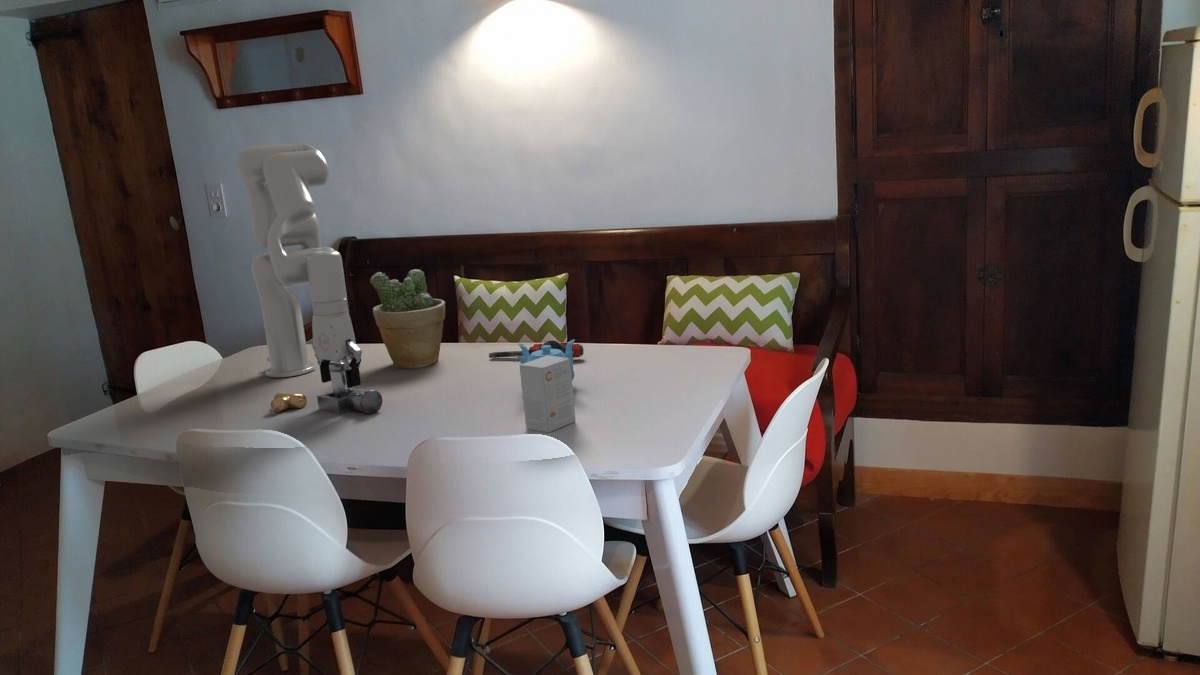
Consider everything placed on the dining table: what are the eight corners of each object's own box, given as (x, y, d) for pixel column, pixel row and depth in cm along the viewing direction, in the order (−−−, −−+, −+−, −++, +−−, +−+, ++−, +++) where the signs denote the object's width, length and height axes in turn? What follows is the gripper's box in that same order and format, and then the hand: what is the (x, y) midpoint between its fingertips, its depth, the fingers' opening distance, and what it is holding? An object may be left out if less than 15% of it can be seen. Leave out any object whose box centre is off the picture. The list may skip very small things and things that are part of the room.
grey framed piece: (318, 409, 208) (315, 387, 207) (349, 399, 214) (346, 378, 212) (358, 418, 198) (355, 395, 197) (389, 408, 204) (386, 386, 203)
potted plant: (418, 352, 257) (406, 262, 251) (467, 357, 246) (456, 263, 240) (365, 368, 242) (353, 273, 237) (415, 375, 231) (403, 275, 226)
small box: (553, 417, 188) (547, 354, 185) (576, 421, 184) (571, 357, 181) (524, 428, 182) (518, 364, 180) (548, 433, 178) (542, 367, 175)
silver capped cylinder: (331, 407, 208) (324, 364, 206) (346, 402, 211) (340, 360, 209) (341, 410, 205) (335, 366, 203) (357, 405, 208) (351, 361, 206)
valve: (598, 359, 242) (576, 365, 228) (508, 362, 252) (482, 368, 238) (596, 334, 242) (574, 339, 228) (507, 338, 251) (480, 343, 237)
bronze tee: (307, 405, 211) (305, 393, 211) (288, 413, 206) (286, 400, 205) (284, 404, 214) (282, 391, 214) (265, 411, 209) (262, 399, 208)
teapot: (519, 400, 203) (514, 355, 200) (522, 384, 215) (518, 341, 213) (578, 395, 203) (574, 350, 200) (578, 379, 215) (574, 336, 213)
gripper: (293, 308, 206) (304, 383, 210) (338, 314, 195) (349, 392, 199) (322, 302, 212) (333, 375, 215) (368, 307, 200) (378, 384, 204)
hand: (341, 383), depth 207 cm, fingers open, 9 cm apart
